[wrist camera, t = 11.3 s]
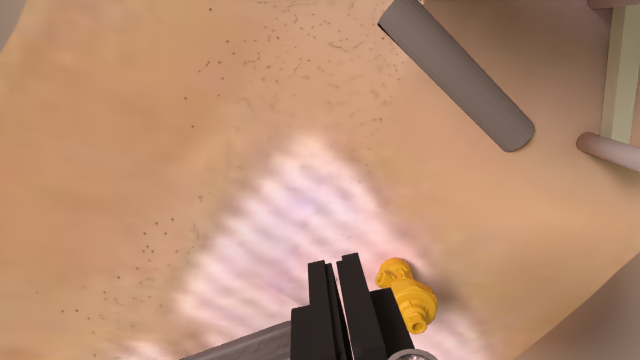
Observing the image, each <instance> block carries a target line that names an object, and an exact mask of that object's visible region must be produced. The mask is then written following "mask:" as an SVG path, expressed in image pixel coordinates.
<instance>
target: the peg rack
mask: <svg viewBox="0 0 640 360" xmlns="http://www.w3.org/2000/svg"><path fill="white" fill-rule="evenodd" d="M587 1H588V5H589V7H590V8H592V9H602V8H611V7H613V10H612V20H611V30H610V40H609V50H608V60H607V70H606V80H605V90H604V100H603V110H602V121H601V131H600V136H599V135H596V134H593V133H589V132H587V133H584V134H582V135H581V136H580V137H579V138H578V140H577V143H576V145H577V148H578V149H579V150H581V151H584V152H586V153H589V154H592V155H594V156H597V157H599V158H602V159H605V160H607V161H610V162H613V163H616V164H618V165H621V166H624V167H626V168H629V169H632V170H634V171H637V172H640V148H639V147H636V146H632V145H629V144H630V137H631V129H632V121H633V114H634V106H635V98H636V90H637V83H638V75H639V67H640V0H587Z"/></svg>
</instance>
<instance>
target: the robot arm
mask: <svg viewBox="0 0 640 360" xmlns="http://www.w3.org/2000/svg"><path fill="white" fill-rule="evenodd" d="M336 264H337V269H338V275H339V280H340V286H341V291H342V297H343V302H344V308H345V313H346V319H347V324H348V330H349V334H348V330H347V325H346V321H345V317H344V313H343V309H342V305H341V301H340V297H339V292H338V288H337V284H336V280H335V276H334V272H333V268H332V264H331V263H328V264H325V262H324V260H321V261H317V262H312V263H308V280H309V301H310V305H307V306H302V307H298V308H293V309H292V311H291V347H290V360H353V356H354V360H438V359H437V358H436V357H435V356H433V355H432V354H430V353H428V352H426V351H423V350H419V349H415V348H414V345H413V342H412V340H411V337H410V335H409V332H408V330H407V327H406V324H405V322H404V319H403V317H402V314H401V312H400V309H399V306H398V304H397V301H396V299H395V296H394V294H393V291H392V289H391V287H388V288H384V289H379V290H375V291H370V292H369V290H368V286H367V283H366V280H365V276H364V273H363V269H362V266H361V263H360V259H359V256H358V253H353V254H348V255H344V256H342V261H337V262H336ZM349 335H350V339H349ZM350 341H351V345H350ZM351 346H352V351H353V356H352V351H351Z"/></svg>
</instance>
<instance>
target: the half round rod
mask: <svg viewBox="0 0 640 360" xmlns="http://www.w3.org/2000/svg"><path fill="white" fill-rule="evenodd" d="M378 26H379V27H380V28H381V29H382V30H383V31H384V32H385V33H386V34H387V35H388V36H389V37H390V38H391V39H392V40H393V41H394V42H395V43H396V44H397V45H398V46H399V47H400V48H401V49H402V50H403V51H404V52H405V53H406V54H407V55H408V56H409V57H410V58H411V59H412V60H413V61H414V62H415V63H416V64H417V65H418V66H419V67H420V68H421V69H422V70H423V71H424V72H425V73H426V74H427V75H428V76H429V77H430V78H431V79H432V80H433V81H434V82H435V83H436V84H437V85H438V86H439V87H440V88H441V89H442V90H443V91H444V92H445V93H446V94H447V95H448V96H449V97H450V98H451V99H452V100H453V101H454V102H455V103H456V104H457V105H458V106H459V107H460V108H461V109H462V110H463V111H464V112H465V113H466V114H467V115H468V116H469V117H470V118H471V119H472V120H473V121H474V122H475V123H476V124H477V125H478V126H479V127H480V128H481V129H482V130H483V131H484V132H485V133H486V134H487V135H488V136H489V137H490V138H491V139H492V140H493V141H494V142H495V143H496V144H497V145H498V146H499V147H500V148H501V149H502V150H503V151H513V150H516V149H518V148H520V147H521V146H523V145H524V144H525V143H526V142H528V140H529V139H530V138H531V137H532V135H533V134H534V130H535V127H534V124H533V122H532V121H531V120H530V119H529V118H528V117H527V116H526V115H525V114H524V113H523V112H522V111H521V110H520V109H519V108H518V106H517V105H516V104H515V103H514V102H513V101H512V100H511V99H510V98H509V97H508V96H507V95H506V94H505V93H504V92H503V91H502V89H501V88H500V87H499V86H498V85H497V84H496V83H495V82H494V81H493V80H492V79H491V78H490V77H489V76H488V75H487V74H486V72H485V71H484V70H483V69H482V68H481V67H480V66H479V65H478V64H477V63H476V62H475V61H474V60H473V59H472V58H471V56H470V55H469V54H468V53H467V52H466V51H465V50H464V49H463V48H462V47H461V46H460V45H459V44H458V43H457V42H456V41H455V39H454V38H453V37H452V36H451V35H450V34H449V33H448V32H447V31H446V30H445V29H444V28H443V27H442V26H441V25H440V24H439V22H438V21H437V20H436V19H435V18H434V17H433V16H432V15H431V14H430V13H429V12H428V11H427V10H426V9H425V8H424V7H423V5H422V4H421V3H420V2H419V1H418V0H394V2H393V3H392V4H391V5H390V6H389V7H388V9H387V10H386V11H385V12H384V13H383V15H382V16H381V17H380V20H379V22H378Z"/></svg>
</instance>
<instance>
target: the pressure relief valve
mask: <svg viewBox="0 0 640 360" xmlns="http://www.w3.org/2000/svg"><path fill="white" fill-rule="evenodd" d="M375 282H376V285H377V286H378V287H380V288H382V289H384V288H388V287H391V289H392V291H393V294H394V296H395V299H396V301H397V304H398V306H399V309H400V312H401V314H402V317H403V319H404V322H405V324H406V327H407V330H408V332H410V333H412V334H420V333H423V332H424V331H425V330H426V328H427V325H428V324H430V323H431V322H432V321H433V320H434V318H435V315H436V309H437V299H436V297H435V295H434V293H433V291H432V289H431V288H429V287H428V286H426V285H424V284H422V283H420V282H418V281H415V280H414V279H413V274H412V270H411V268H410V266H409V264H408V263H406V262H405V261H403V260H402V259H399V258H391V259H388V260H386V261H385V262H384V263H383V264H382V265H381V267H380V270H379V273H378V275H377V277H376V281H375ZM347 330H348V329H347ZM348 334H349V330H348ZM349 339H350V335H349Z"/></svg>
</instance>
